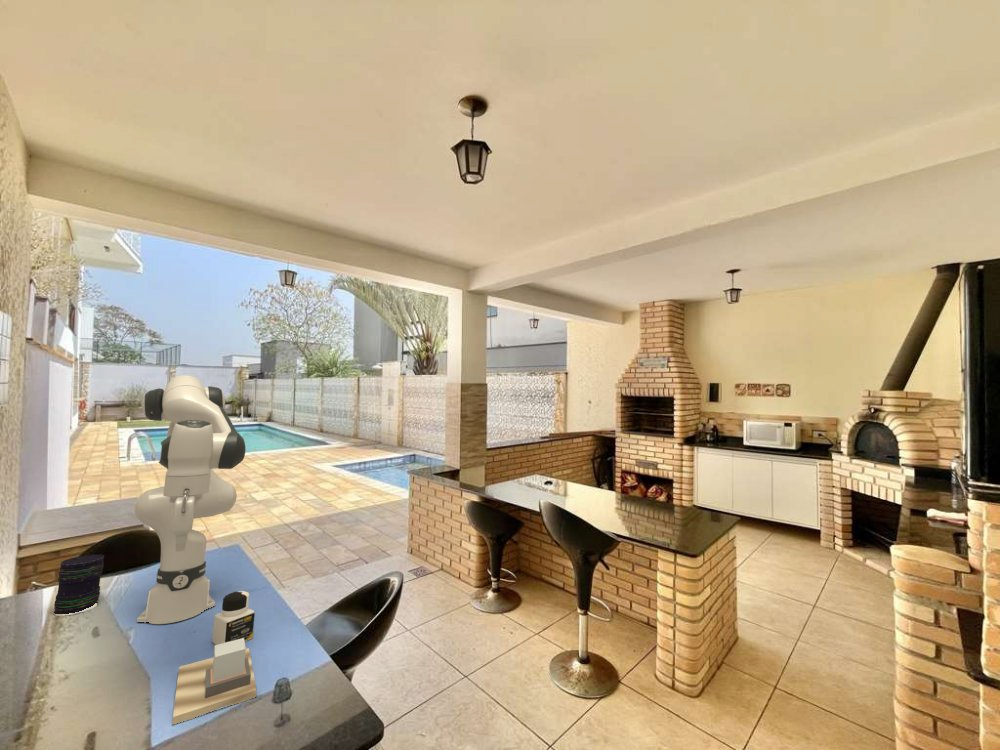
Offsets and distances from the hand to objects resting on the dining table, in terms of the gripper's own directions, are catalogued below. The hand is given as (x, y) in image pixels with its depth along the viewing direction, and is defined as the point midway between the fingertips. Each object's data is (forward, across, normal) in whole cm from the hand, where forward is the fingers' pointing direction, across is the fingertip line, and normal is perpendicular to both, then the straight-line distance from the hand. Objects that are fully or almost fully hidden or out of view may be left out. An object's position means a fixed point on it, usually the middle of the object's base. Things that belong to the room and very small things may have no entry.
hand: (181, 545), depth 96 cm
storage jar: (+29, +60, +26) cm, 72 cm away
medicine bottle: (+29, +10, -13) cm, 34 cm away
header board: (+29, -10, -9) cm, 32 cm away
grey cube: (+26, -13, -11) cm, 31 cm away
